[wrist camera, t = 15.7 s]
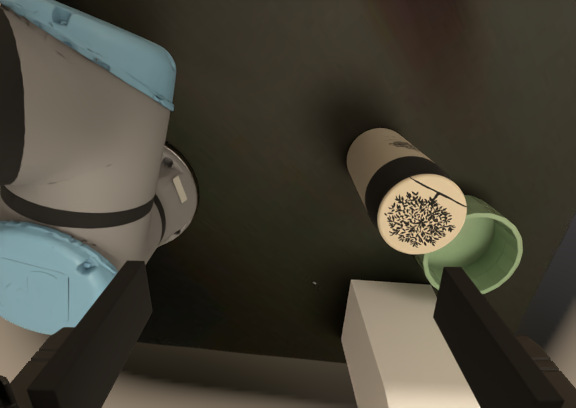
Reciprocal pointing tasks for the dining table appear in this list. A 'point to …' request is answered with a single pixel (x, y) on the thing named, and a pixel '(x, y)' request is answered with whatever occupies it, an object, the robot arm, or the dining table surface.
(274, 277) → the dining table surface
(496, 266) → the pot
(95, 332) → the robot arm
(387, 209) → the travel mug
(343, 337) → the milk
